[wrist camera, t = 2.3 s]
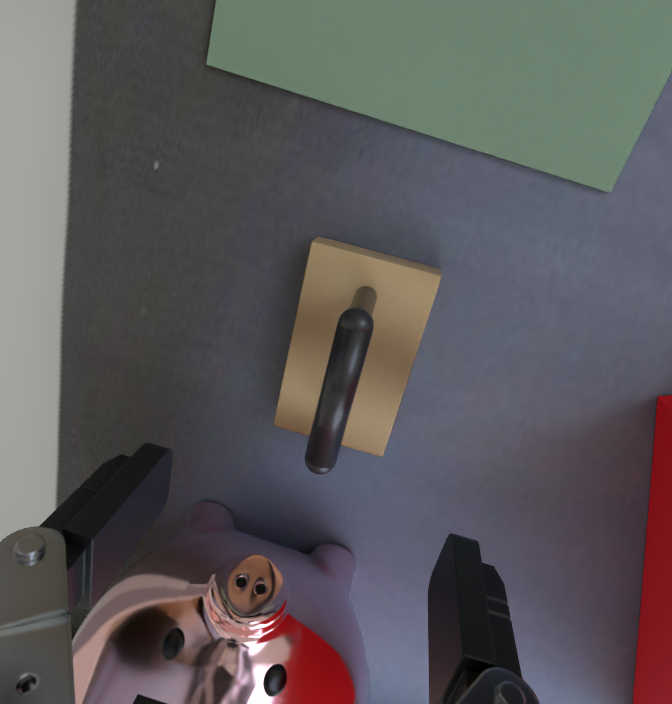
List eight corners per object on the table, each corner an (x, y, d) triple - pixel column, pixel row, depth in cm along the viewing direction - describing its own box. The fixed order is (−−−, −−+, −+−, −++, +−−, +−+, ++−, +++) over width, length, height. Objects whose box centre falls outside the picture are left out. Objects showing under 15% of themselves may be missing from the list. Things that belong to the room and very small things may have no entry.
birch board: (384, 442, 27) (375, 519, 22) (280, 412, 28) (243, 480, 22) (440, 268, 23) (447, 307, 18) (317, 235, 24) (285, 263, 18)
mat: (207, 65, 21) (205, 64, 21) (239, -142, 19) (238, -144, 18) (609, 192, 21) (610, 193, 21) (705, 0, 18) (708, -1, 18)
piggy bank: (421, 511, 29) (423, 889, 14) (334, 694, 36) (276, 1068, 21) (171, 425, 29) (-78, 706, 14) (136, 624, 36) (-54, 943, 22)
